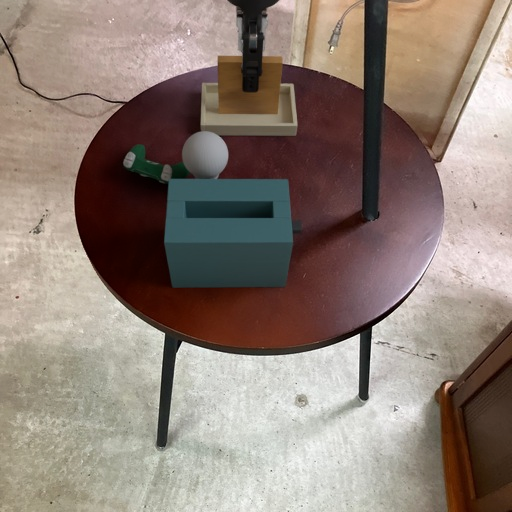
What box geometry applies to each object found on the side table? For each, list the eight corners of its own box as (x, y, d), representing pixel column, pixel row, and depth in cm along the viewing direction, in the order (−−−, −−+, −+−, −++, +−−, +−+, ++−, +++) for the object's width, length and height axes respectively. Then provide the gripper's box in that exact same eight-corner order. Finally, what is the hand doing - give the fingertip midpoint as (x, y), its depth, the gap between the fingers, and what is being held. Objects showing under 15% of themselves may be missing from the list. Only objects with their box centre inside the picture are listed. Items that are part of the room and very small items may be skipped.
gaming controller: (133, 168, 80) (112, 169, 74) (139, 142, 79) (119, 142, 74) (190, 188, 79) (174, 190, 73) (197, 162, 78) (181, 163, 72)
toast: (218, 114, 84) (217, 61, 76) (218, 107, 84) (217, 55, 76) (277, 114, 84) (282, 62, 76) (277, 108, 85) (282, 56, 77)
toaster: (172, 287, 68) (164, 242, 59) (175, 228, 73) (168, 178, 64) (298, 287, 69) (307, 242, 60) (293, 228, 73) (301, 179, 65)
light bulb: (236, 195, 76) (237, 144, 68) (198, 213, 74) (194, 162, 66) (215, 167, 79) (213, 115, 70) (178, 184, 77) (171, 131, 68)
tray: (201, 135, 82) (200, 125, 80) (202, 93, 87) (202, 82, 85) (296, 136, 83) (297, 125, 81) (292, 94, 87) (293, 83, 86)
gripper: (221, -77, 68) (223, 38, 81) (221, -10, 60) (222, 105, 74) (282, -76, 68) (273, 39, 82) (289, -8, 60) (278, 105, 74)
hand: (249, 70), depth 78 cm, fingers open, 8 cm apart
